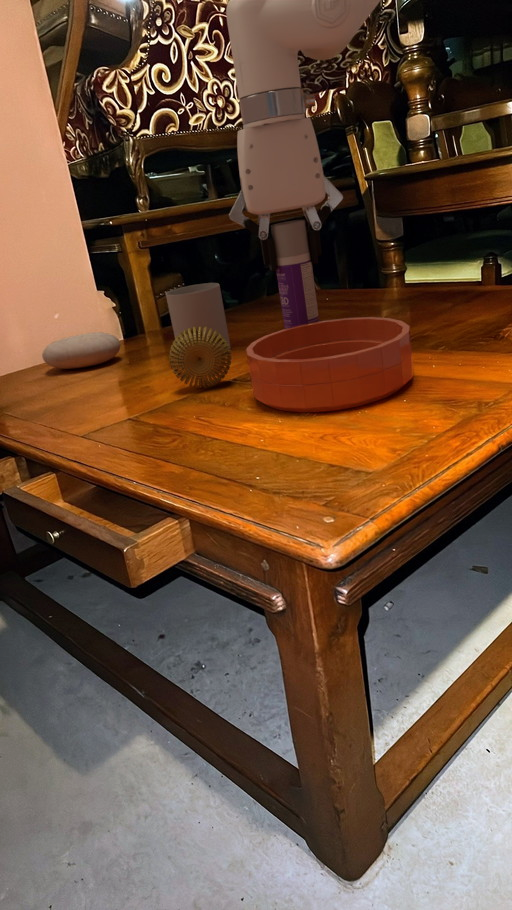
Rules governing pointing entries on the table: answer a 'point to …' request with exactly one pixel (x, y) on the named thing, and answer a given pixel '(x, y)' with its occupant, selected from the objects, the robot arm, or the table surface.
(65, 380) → the table surface
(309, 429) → the table surface
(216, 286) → the cup
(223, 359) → the sculpture
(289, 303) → the container
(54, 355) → the decorative stone
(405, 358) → the bowl
